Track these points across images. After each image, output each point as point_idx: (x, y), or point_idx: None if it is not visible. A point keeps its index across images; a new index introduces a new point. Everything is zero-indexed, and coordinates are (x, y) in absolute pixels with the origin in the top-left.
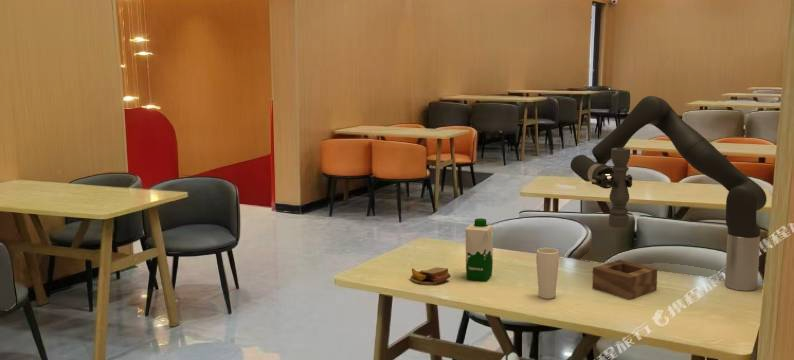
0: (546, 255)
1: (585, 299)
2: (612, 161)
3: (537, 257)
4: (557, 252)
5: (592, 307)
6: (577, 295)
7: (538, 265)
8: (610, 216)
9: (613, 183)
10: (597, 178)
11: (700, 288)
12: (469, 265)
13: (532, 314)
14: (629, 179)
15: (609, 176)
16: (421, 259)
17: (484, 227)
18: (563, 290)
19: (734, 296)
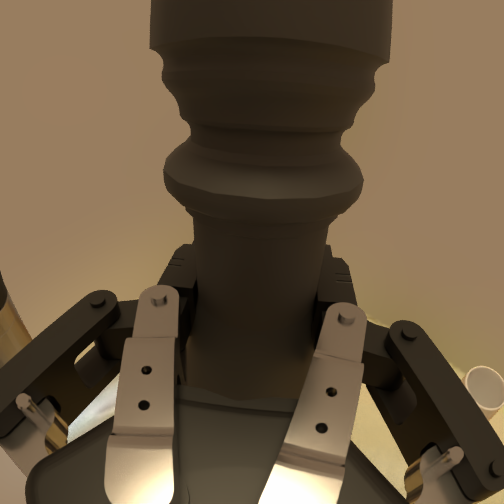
0: (484, 369)
1: (363, 425)
2: (371, 91)
3: (497, 390)
4: (466, 374)
5: (362, 386)
6: (372, 448)
7: (485, 397)
8: None
9: (339, 264)
10: (462, 390)
11: (90, 408)
12: None
13: (456, 370)
14: (127, 303)
15: (332, 357)
16: None
17: None
18: (393, 480)
19: (80, 357)
